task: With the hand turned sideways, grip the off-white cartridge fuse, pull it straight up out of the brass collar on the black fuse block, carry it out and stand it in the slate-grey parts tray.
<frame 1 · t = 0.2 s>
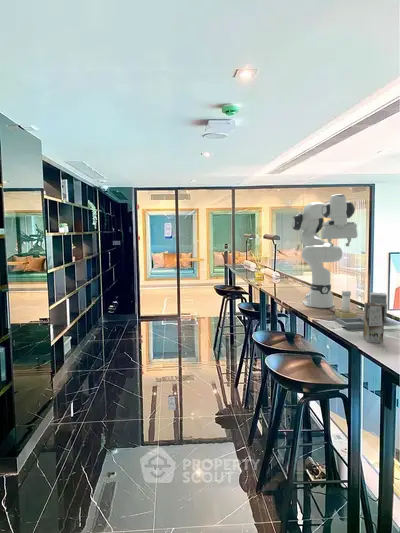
hand: (339, 246, 226), 39 cm above the bar counter, tool pointing down, fingers open, 8 cm apart
circuit breaker: (377, 323, 206), on the bar counter
fuse: (345, 317, 214), point 1 cm above the bar counter, touching fuse block
coffee box: (373, 340, 174), on the bar counter
parts tray: (354, 326, 199), on the bar counter
fuse block: (345, 319, 214), on the bar counter
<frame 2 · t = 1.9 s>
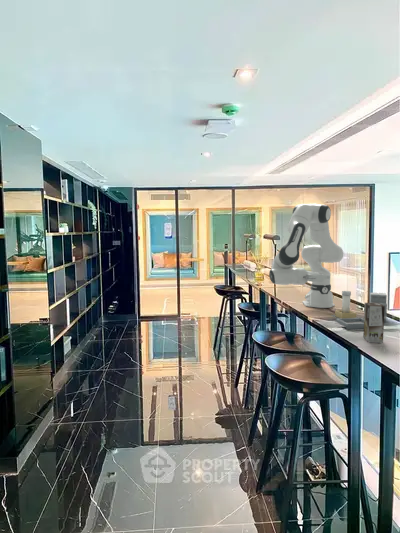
hand: (325, 276, 210), 24 cm above the bar counter, tool horizontal, fingers open, 8 cm apart
nothing on the bar counter moved.
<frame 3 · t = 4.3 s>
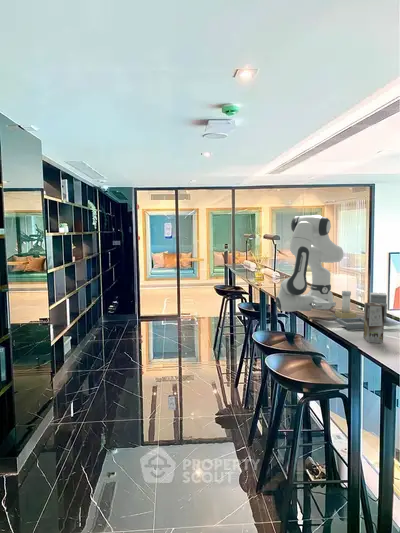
hand: (331, 302, 212), 10 cm above the bar counter, tool horizontal, fingers open, 8 cm apart
nothing on the bar counter moved.
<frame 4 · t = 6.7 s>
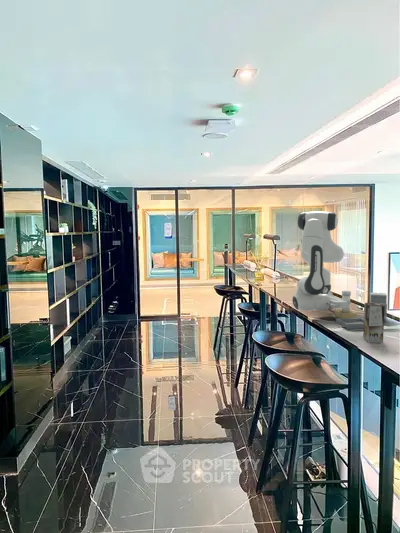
hand: (347, 301, 213), 10 cm above the bar counter, tool horizontal, fingers closed on fuse, 4 cm apart
fuse: (345, 317, 214), point 2 cm above the bar counter, touching fuse block, gripper
everything else where it was.
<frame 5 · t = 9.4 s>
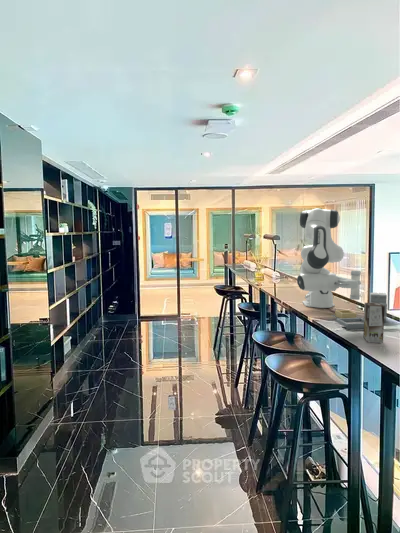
hand: (357, 282, 197), 23 cm above the bar counter, tool horizontal, fingers closed on fuse, 4 cm apart
fuse: (354, 298, 197), point 14 cm above the bar counter, touching gripper
everything else where it was.
when the fingers open (10 cm above the bar counter, at t = 12.1 s): fuse drops 1 cm, resting on parts tray.
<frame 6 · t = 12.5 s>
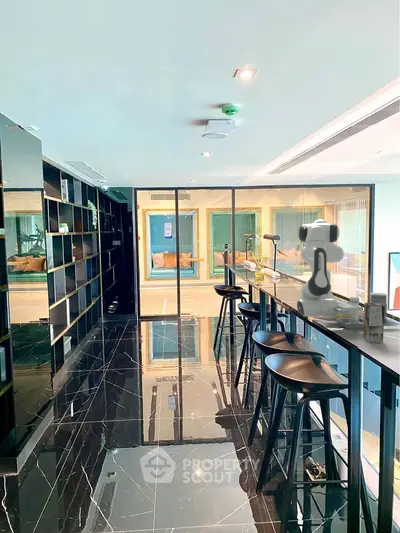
hand: (356, 306, 198), 10 cm above the bar counter, tool horizontal, fingers open, 8 cm apart
fuse: (354, 325, 199), point 1 cm above the bar counter, touching parts tray
everything else where it was.
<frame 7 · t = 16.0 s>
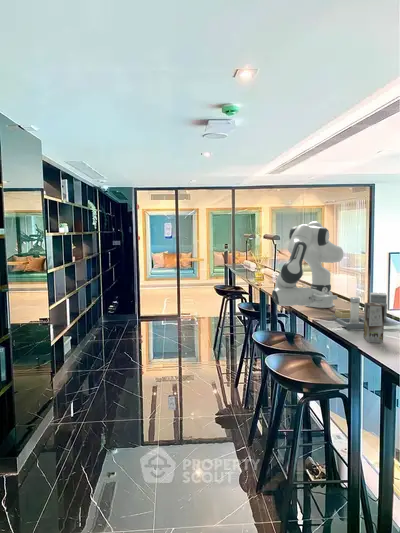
hand: (332, 295, 196), 16 cm above the bar counter, tool horizontal, fingers open, 8 cm apart
nothing on the bar counter moved.
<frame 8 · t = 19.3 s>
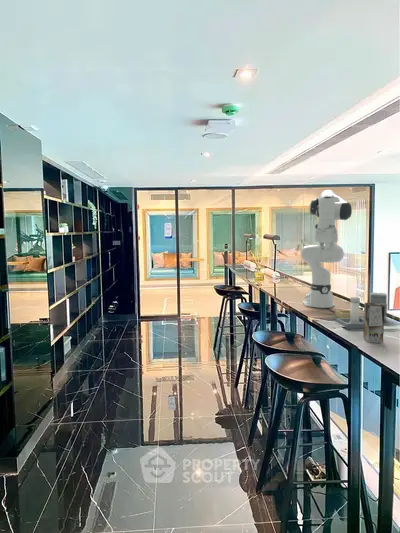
hand: (325, 250, 216), 37 cm above the bar counter, tool pointing down, fingers open, 8 cm apart
nothing on the bar counter moved.
at the end: fuse inside the target area on the parts tray (0.0 cm from its centre), point 0.6 cm above the parts tray's base; fuse tilted 0°; the gripper is holding nothing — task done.
